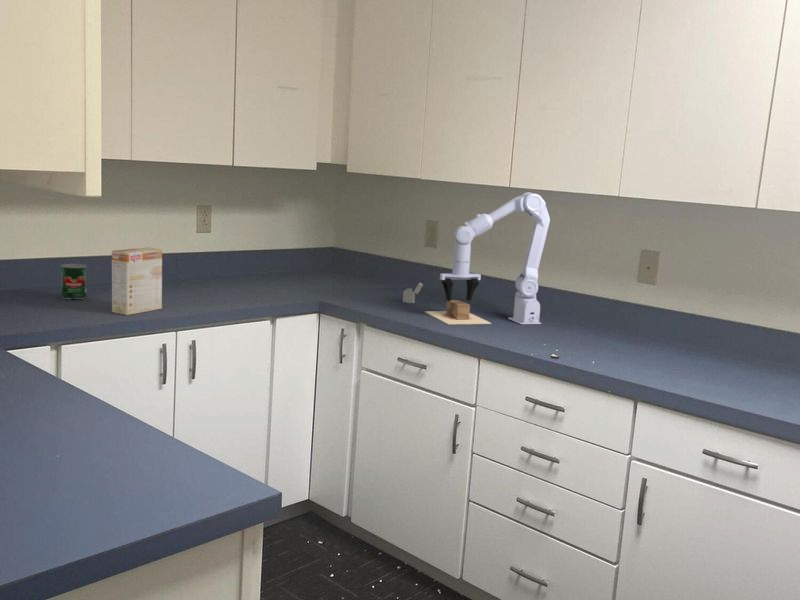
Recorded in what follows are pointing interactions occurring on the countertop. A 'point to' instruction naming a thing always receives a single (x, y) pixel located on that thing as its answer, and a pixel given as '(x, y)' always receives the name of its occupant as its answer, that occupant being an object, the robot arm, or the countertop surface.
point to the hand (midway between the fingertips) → (458, 300)
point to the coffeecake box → (136, 280)
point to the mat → (450, 320)
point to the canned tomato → (73, 281)
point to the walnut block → (458, 309)
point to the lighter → (411, 294)
